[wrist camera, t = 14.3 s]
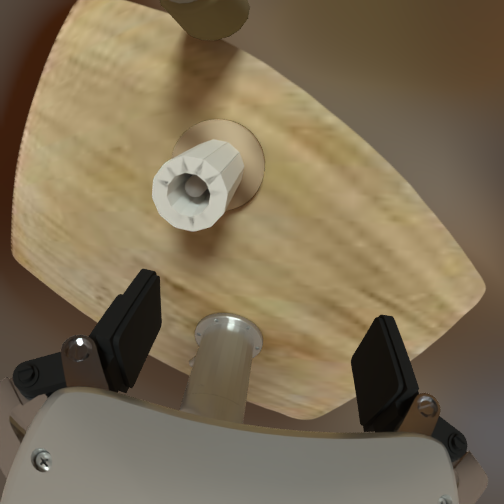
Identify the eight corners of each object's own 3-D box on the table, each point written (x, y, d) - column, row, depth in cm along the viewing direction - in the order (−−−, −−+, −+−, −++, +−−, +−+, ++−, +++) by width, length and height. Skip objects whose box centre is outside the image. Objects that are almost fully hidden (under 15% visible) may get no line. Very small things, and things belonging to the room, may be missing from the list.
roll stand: (223, 223, 39) (205, 263, 30) (158, 168, 36) (120, 193, 27) (284, 162, 34) (285, 185, 25) (213, 100, 31) (186, 99, 22)
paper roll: (219, 204, 36) (195, 244, 27) (178, 170, 34) (139, 198, 25) (255, 165, 33) (243, 193, 24) (212, 128, 31) (181, 140, 22)
